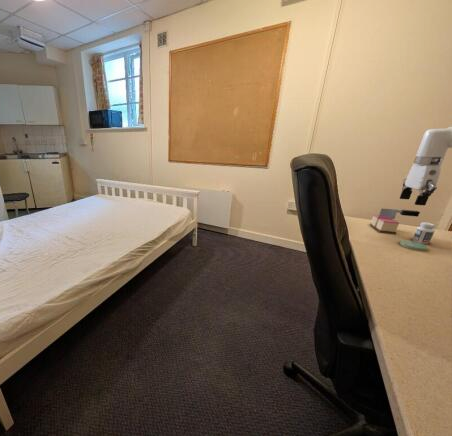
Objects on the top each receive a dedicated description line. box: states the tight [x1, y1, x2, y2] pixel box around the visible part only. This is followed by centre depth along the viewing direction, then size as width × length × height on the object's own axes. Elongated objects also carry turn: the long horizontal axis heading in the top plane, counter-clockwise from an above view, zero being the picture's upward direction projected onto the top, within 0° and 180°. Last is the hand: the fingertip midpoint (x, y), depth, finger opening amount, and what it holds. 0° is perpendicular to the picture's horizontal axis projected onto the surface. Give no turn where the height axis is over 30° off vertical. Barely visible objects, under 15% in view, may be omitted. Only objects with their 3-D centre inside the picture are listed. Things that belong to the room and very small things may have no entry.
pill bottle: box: [412, 221, 435, 245], centre depth 100 cm, size 5×5×9 cm
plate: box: [399, 239, 428, 252], centre depth 97 cm, size 8×8×1 cm
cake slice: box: [370, 214, 387, 226], centre depth 117 cm, size 6×4×5 cm
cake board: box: [369, 222, 397, 235], centre depth 115 cm, size 6×11×1 cm, turn 160°
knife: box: [378, 207, 421, 220], centre depth 111 cm, size 14×2×5 cm, turn 70°
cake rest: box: [376, 218, 400, 233], centre depth 112 cm, size 6×4×5 cm
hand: (411, 201), depth 95 cm, fingers open, 9 cm apart
